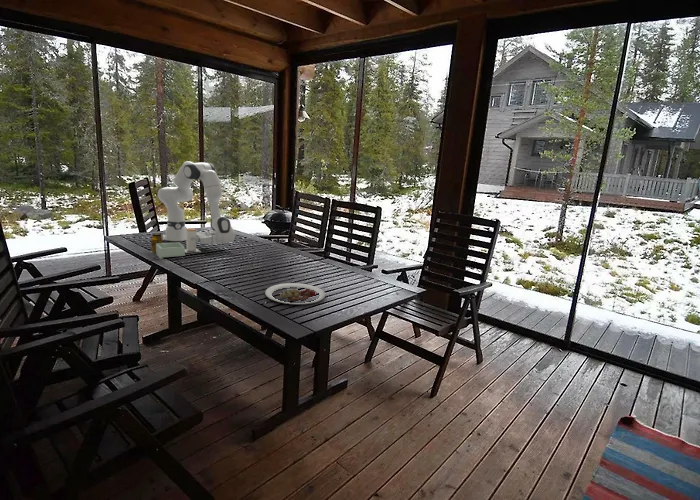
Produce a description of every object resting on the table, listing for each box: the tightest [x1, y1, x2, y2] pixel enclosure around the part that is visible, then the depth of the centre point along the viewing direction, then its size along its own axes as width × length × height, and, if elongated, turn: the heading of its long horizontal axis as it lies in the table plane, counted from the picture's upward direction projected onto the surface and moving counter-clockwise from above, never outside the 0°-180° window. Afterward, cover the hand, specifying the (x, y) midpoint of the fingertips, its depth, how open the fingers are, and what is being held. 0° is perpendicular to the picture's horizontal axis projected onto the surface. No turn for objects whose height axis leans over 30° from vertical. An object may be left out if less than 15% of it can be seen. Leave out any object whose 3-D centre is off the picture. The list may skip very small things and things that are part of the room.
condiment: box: [150, 232, 163, 254], centre depth 252 cm, size 7×8×12 cm
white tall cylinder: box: [185, 227, 197, 251], centre depth 256 cm, size 5×5×14 cm
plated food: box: [264, 282, 326, 305], centre depth 196 cm, size 30×30×3 cm
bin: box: [155, 241, 186, 260], centre depth 245 cm, size 14×14×7 cm
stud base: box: [185, 247, 202, 254], centre depth 257 cm, size 10×10×8 cm
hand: (189, 238), depth 255 cm, fingers closed on white tall cylinder, 5 cm apart
